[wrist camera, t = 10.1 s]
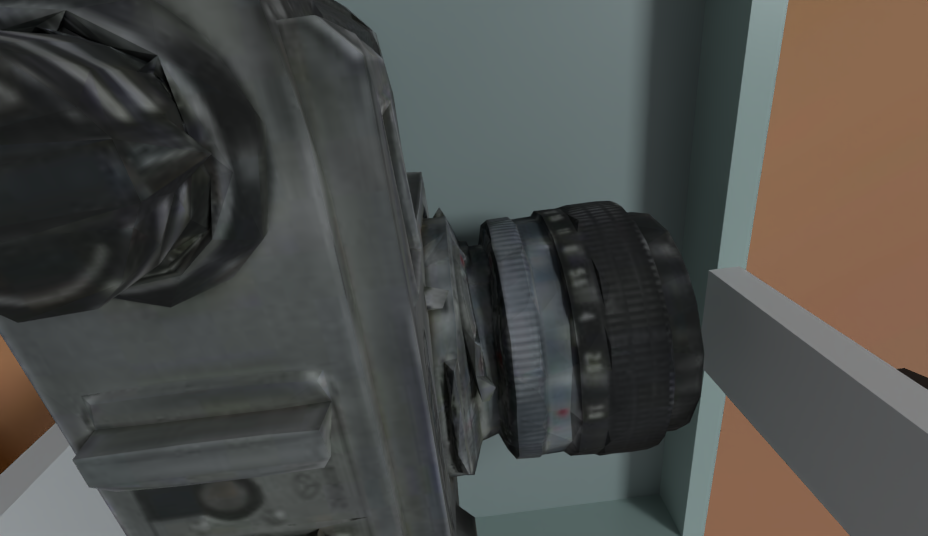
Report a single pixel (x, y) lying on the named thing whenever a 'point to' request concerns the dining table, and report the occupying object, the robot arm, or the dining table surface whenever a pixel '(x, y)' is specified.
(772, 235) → the dining table surface
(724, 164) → the storage tray
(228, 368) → the camera
